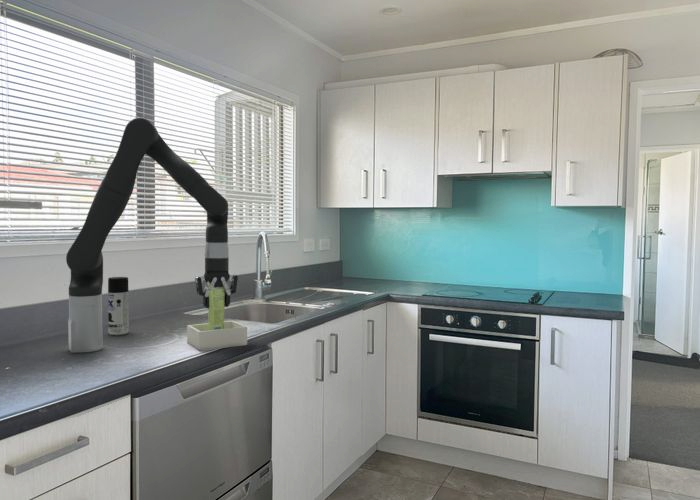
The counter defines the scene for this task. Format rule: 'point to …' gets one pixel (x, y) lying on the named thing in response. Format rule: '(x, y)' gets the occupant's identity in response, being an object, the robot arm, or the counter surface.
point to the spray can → (118, 306)
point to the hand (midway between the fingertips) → (216, 307)
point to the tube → (216, 308)
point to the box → (216, 336)
